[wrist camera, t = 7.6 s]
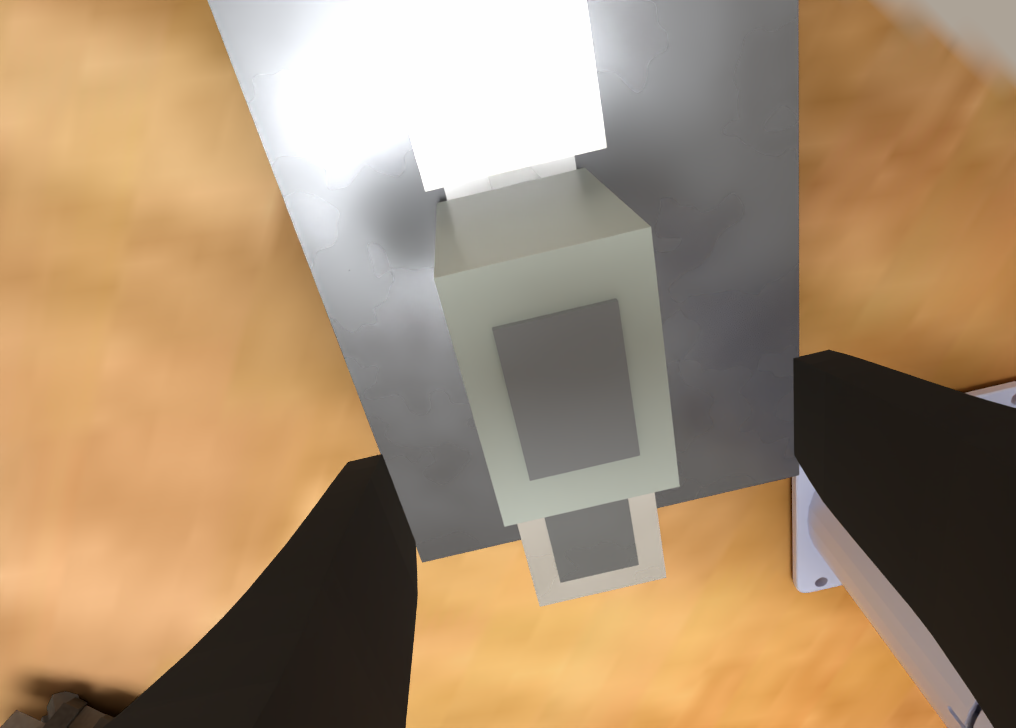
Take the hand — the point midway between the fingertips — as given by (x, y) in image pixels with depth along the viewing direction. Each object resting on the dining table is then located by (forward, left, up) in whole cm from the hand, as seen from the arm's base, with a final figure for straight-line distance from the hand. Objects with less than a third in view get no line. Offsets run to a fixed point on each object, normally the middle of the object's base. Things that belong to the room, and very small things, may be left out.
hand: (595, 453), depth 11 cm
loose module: (0, 0, -8) cm, 8 cm away
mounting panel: (-1, 0, -9) cm, 9 cm away
